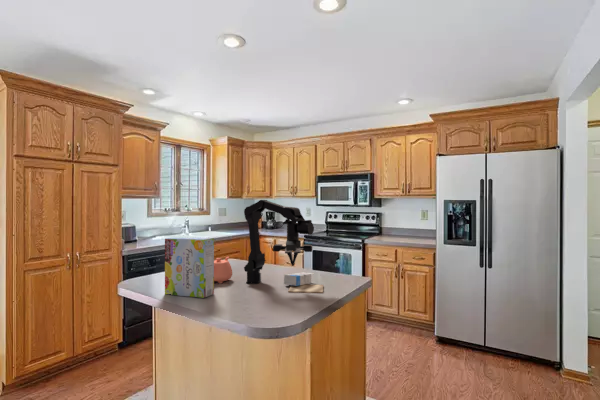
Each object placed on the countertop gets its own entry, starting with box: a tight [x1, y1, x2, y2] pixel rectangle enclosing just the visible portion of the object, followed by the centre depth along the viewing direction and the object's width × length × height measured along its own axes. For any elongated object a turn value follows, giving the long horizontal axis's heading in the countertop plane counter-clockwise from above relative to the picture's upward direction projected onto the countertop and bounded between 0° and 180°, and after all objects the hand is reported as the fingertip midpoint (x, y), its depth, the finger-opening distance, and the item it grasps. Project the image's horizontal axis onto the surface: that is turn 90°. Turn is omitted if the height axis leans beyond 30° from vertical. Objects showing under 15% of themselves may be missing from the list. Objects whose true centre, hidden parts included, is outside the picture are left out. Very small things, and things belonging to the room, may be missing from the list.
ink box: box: [283, 271, 315, 286], centre depth 170 cm, size 8×5×15 cm
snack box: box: [164, 236, 215, 299], centre depth 152 cm, size 22×9×26 cm, turn 71°
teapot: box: [214, 256, 233, 284], centre depth 178 cm, size 13×20×12 cm, turn 164°
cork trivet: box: [287, 283, 324, 294], centre depth 161 cm, size 16×13×1 cm
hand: (292, 265), depth 161 cm, fingers closed
